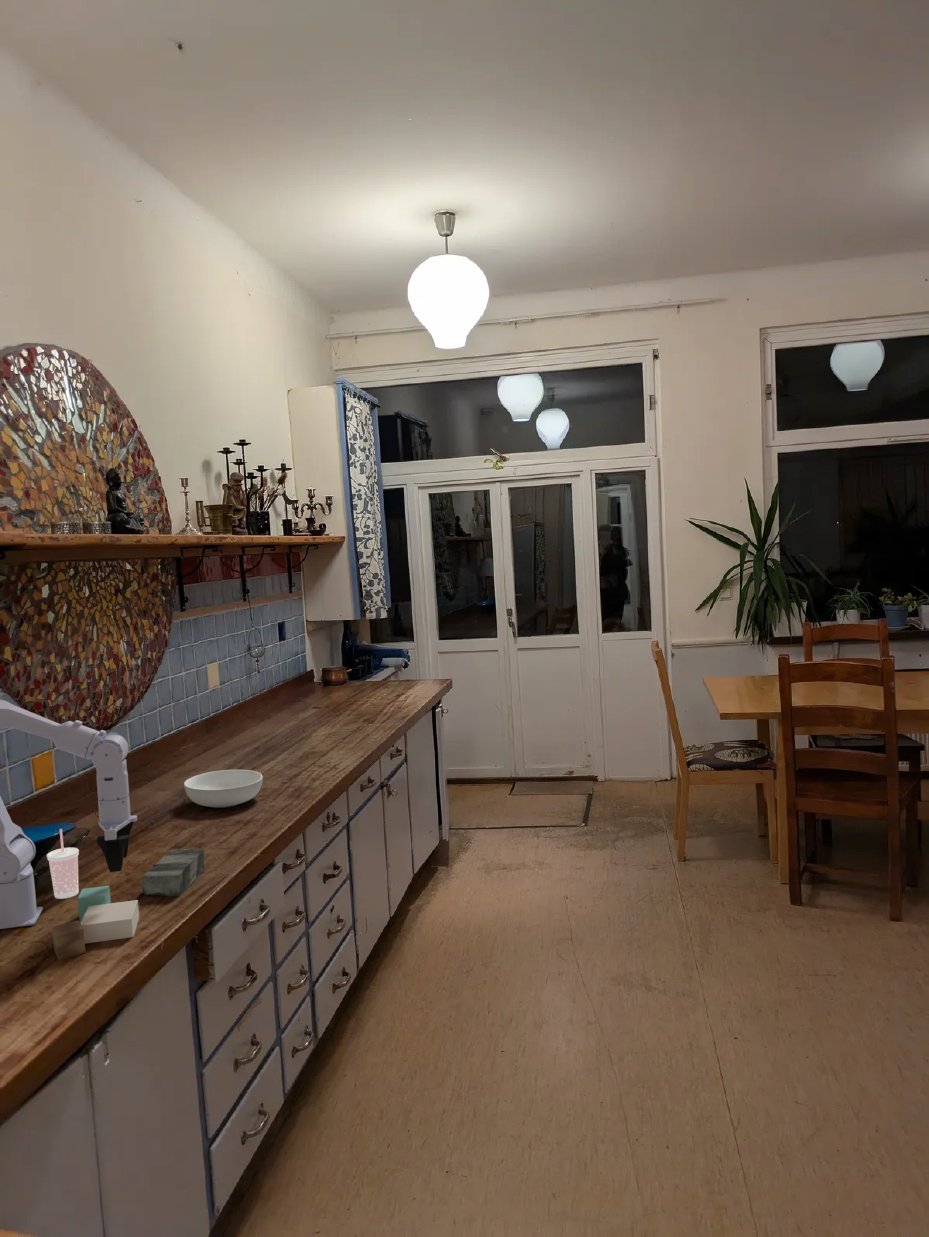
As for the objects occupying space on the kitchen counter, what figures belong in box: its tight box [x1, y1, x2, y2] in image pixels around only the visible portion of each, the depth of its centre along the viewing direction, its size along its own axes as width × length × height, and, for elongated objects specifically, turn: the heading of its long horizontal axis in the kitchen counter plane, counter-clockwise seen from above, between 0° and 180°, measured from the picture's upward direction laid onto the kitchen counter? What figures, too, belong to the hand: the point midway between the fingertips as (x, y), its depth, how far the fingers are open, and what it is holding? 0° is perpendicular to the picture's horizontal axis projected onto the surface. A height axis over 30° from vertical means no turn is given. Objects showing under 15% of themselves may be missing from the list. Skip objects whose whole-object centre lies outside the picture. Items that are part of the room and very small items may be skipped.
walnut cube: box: [51, 919, 86, 961], centre depth 163 cm, size 4×4×4 cm
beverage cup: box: [46, 828, 80, 900], centre depth 189 cm, size 6×6×14 cm
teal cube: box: [77, 885, 112, 923], centre depth 178 cm, size 5×5×5 cm
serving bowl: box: [183, 769, 264, 809], centre depth 250 cm, size 21×21×7 cm
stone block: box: [141, 848, 206, 897], centre depth 193 cm, size 9×14×5 cm, turn 175°
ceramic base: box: [81, 899, 140, 944], centre depth 171 cm, size 9×9×4 cm
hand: (118, 864), depth 179 cm, fingers open, 7 cm apart
